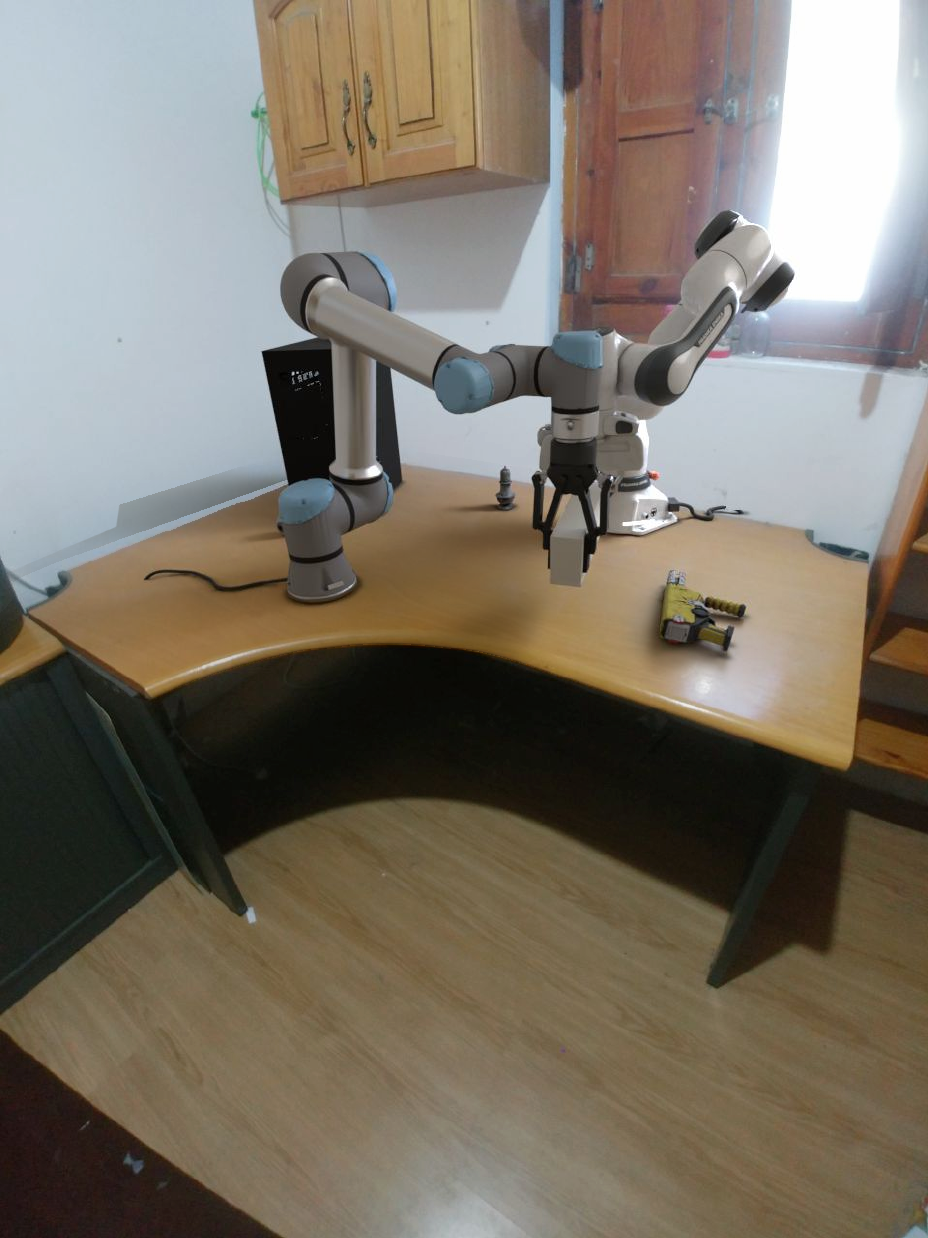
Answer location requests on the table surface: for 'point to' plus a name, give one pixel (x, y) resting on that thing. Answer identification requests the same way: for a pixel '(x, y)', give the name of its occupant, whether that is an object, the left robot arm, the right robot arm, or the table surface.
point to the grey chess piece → (505, 491)
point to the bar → (571, 541)
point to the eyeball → (279, 525)
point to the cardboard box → (321, 411)
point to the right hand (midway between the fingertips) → (589, 491)
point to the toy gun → (693, 614)
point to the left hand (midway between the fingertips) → (568, 567)
